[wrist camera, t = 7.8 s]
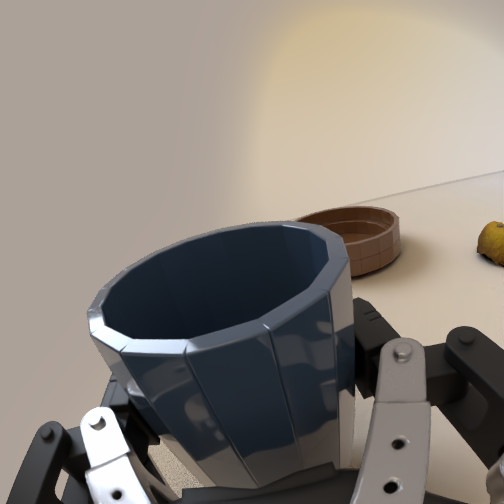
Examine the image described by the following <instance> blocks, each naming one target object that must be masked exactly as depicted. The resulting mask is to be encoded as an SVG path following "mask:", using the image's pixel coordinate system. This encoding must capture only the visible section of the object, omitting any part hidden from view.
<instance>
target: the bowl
mask: <svg viewBox="0 0 504 504" xmlns="http://www.w3.org/2000/svg"><path fill="white" fill-rule="evenodd" d="M295 221H296V222H303V223H310V224H316V225H321V226H323V227H325V228H327V229H328V230H330V231H332V232H334V233H336V234H338V235H339V236H341V237H342V238H343V241H344V244H345V247H346V250H347V253H348V256H349V261H350V272H351V277H353V276H358V275H362V274H366V273H368V272H371V271H374V270H377V269H380V268H382V267H384V266H385V265H387V264H388V263H390V262H392V261H393V260H394V259H395V258H396V257H397V255H398V254H399V253H400V246H401V242H400V225H399V217H398V216H397V215H396V214H395V213H394V212H392V211H389V210H387V209H384V208H378V207H371V206H350V207H339V208H333V209H328V210H323V211H319V212H315V213H312V214H309V215H306V216H303V217H301V218H298V219H297V220H295Z"/></svg>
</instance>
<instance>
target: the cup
mask: <svg viewBox="0 0 504 504" xmlns="http://www.w3.org/2000/svg"><path fill="white" fill-rule="evenodd" d="M87 319H88V325H89V332H90V336H91V338H92V340H93V342H94V343H95V345H96V347H97V348H98V350H99V352H100V353H101V355H102V357H103V358H104V360H105V362H106V364H107V365H108V367H109V368H110V370H111V371H112V373H113V375H114V376H115V378H116V379H117V381H118V382H119V384H120V385H121V387H122V388H123V390H124V391H125V393H126V394H127V396H128V397H129V398H130V400H131V401H132V403H133V404H134V405H135V407H136V408H137V410H138V411H139V412H140V414H141V415H142V416H143V418H144V419H145V420H146V421H147V423H148V424H149V425H150V427H151V428H152V429H153V430H154V432H155V433H156V434H157V435H158V437H159V438H160V439H161V440H162V441H163V443H164V444H165V445H166V446H167V447H168V448H169V450H170V451H171V452H172V453H173V454H174V455H175V456H176V457H177V459H178V460H179V461H180V462H181V463H182V464H183V465H184V466H185V467H186V468H187V469H188V470H189V471H190V473H191V474H192V475H193V476H194V477H195V478H196V479H197V480H198V481H199V482H200V483H201V484H202V485H203V486H204V487H212V486H222V487H233V488H249V489H256V488H260V487H263V486H265V485H267V484H270V483H272V482H274V481H276V480H279V479H281V478H283V477H285V476H287V475H290V474H292V473H294V472H296V471H300V470H304V469H308V468H311V467H315V466H318V465H321V464H325V463H328V462H331V461H333V464H334V466H335V469H342V468H350V464H351V462H352V453H353V438H354V418H355V333H354V312H353V297H352V283H351V272H350V261H349V256H348V253H347V250H346V247H345V244H344V241H343V238H342V237H341V236H339V235H338V234H336V233H334V232H332V231H330V230H328V229H327V228H325V227H323V226H321V225H316V224H310V223H303V222H296V221H271V222H256V223H255V222H254V223H249V224H243V225H237V226H232V227H226V228H221V229H217V230H214V231H210V232H207V233H203V234H200V235H196V236H193V237H190V238H187V239H184V240H181V241H179V242H176V243H174V244H172V245H169V246H167V247H164V248H162V249H160V250H157V251H155V252H153V253H151V254H149V255H147V256H146V257H144V258H142V259H140V260H139V261H137V262H135V263H134V264H132V265H130V266H128V267H127V268H125V269H124V270H122V271H121V272H120V273H119V274H117V275H116V276H115V277H114V278H113V279H112V280H111V281H109V282H108V283H107V284H106V285H105V286H104V287H103V288H101V290H100V291H99V292H98V294H97V295H96V297H95V299H94V300H93V302H92V304H91V305H90V307H89V309H88V311H87Z"/></svg>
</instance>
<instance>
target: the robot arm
mask: <svg viewBox="0 0 504 504" xmlns="http://www.w3.org/2000/svg"><path fill="white" fill-rule="evenodd" d="M353 312H354V333H355V384H356V386H357V388H358V389H359V391H360V393H361V395H362V397H363V398H364V399H366V398H368V397H371V396H374V398H375V401H374V404H373V409H372V415H371V421H370V426H369V431H368V436H367V441H366V446H365V450H364V455H363V459H362V463H361V467H360V469H355V468H342V469H335V466H334V464H333V461H331V462H328V463H325V464H321V465H318V466H315V467H311V468H308V469H304V470H300V471H296V472H294V473H292V474H290V475H287V476H285V477H283V478H281V479H279V480H276V481H274V482H272V483H270V484H267V485H265V486H263V487H260V488H256V489H249V488H233V487H222V486H212V487H201V488H186V489H182V498H179V497H178V496H177V495H176V494H175V493H174V492H173V490H172V489H171V488H170V486H169V484H168V483H167V481H166V480H165V478H164V476H163V475H162V473H161V472H160V470H159V468H158V467H157V465H156V463H155V461H154V460H153V458H152V456H151V455H150V454H149V453H148V446H149V445H160V438H159V437H158V435H157V434H156V433H155V432H154V430H153V429H152V428H151V427H150V425H149V424H148V423H147V421H146V420H145V419H144V418H143V416H142V415H141V414H140V412H139V411H138V410H137V408H136V407H135V405H134V404H133V403H132V401H131V400H130V398H129V397H128V396H127V394H126V393H125V391H124V390H123V388H122V387H121V385H120V384H119V382H118V381H117V379H116V378H115V376H114V375H113V373H112V375H111V377H110V380H109V381H110V382H109V383H108V385H107V388H106V391H105V394H104V397H103V399H102V403H101V405H100V407H98V408H95V409H93V410H91V411H89V412H88V413H87V414H86V415H85V416H84V417H83V419H82V421H81V424H80V426H78V427H75V428H71V429H68V430H65V429H64V428H63V426H62V425H61V424H60V423H58V422H56V421H50V422H47V423H45V424H44V425H42V426H41V427H40V428H39V429H38V431H37V432H36V434H35V437H34V439H33V441H32V443H31V445H30V447H29V450H28V451H27V454H26V456H25V458H24V460H23V463H22V465H21V467H20V470H19V472H18V474H17V477H16V479H15V482H14V484H13V487H12V489H11V492H10V495H9V497H8V500H7V503H6V504H468V503H464V502H460V501H456V500H453V499H449V498H446V497H442V496H439V495H436V494H433V493H430V492H427V491H425V487H426V480H427V471H428V461H429V448H430V427H431V406H435V405H436V406H437V407H438V408H439V410H440V411H441V412H442V413H443V414H444V416H445V417H446V418H447V419H448V420H449V422H450V423H451V424H452V425H453V426H454V428H455V429H456V430H457V431H458V432H459V434H460V435H461V436H462V437H463V438H464V440H465V441H466V442H467V443H468V445H469V446H470V447H471V448H472V450H473V451H474V452H475V453H476V455H477V456H478V457H479V458H480V460H481V461H482V462H483V463H484V465H485V466H486V467H487V468H488V470H489V471H488V473H487V477H486V487H487V492H488V494H490V504H504V350H503V349H502V348H501V347H499V346H498V345H497V344H496V343H494V342H493V341H492V340H491V339H489V338H488V337H487V336H485V335H484V334H483V333H481V332H480V331H479V330H477V329H475V328H473V327H469V326H461V327H457V328H455V329H453V330H451V331H450V332H449V334H448V335H447V339H446V343H441V344H436V345H431V346H422V345H421V344H420V343H419V342H418V341H416V340H414V339H411V338H401V337H400V335H399V334H398V333H397V332H396V331H395V330H394V329H393V328H392V327H391V325H390V324H389V323H388V322H387V321H386V320H385V319H384V318H383V317H382V316H381V314H380V313H379V312H378V311H376V309H375V308H374V307H373V306H372V305H371V304H370V303H369V302H368V301H365V300H363V299H361V298H359V297H358V298H355V299H353ZM61 469H63V470H64V471H66V472H67V473H68V474H69V477H68V480H67V483H66V486H65V489H64V492H63V496H62V499H61V501H60V500H59V499H58V498H57V496H56V494H55V486H56V483H57V480H58V477H59V474H60V471H61Z"/></svg>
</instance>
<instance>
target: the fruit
mask: <svg viewBox="0 0 504 504" xmlns="http://www.w3.org/2000/svg"><path fill="white" fill-rule="evenodd" d="M477 253H480V254H481V255H482V254H486V255H487V257H489V258H491V259H492V260H493V261H494V263H495V264H497V263H501V264H502V265H504V224H503V223H502V222H495V221H493V222H490V223H489V224H487V225H486V226H485V227H484V229H483V230H482V232H481V234H480V235H479V238H478V246H477Z"/></svg>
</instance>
